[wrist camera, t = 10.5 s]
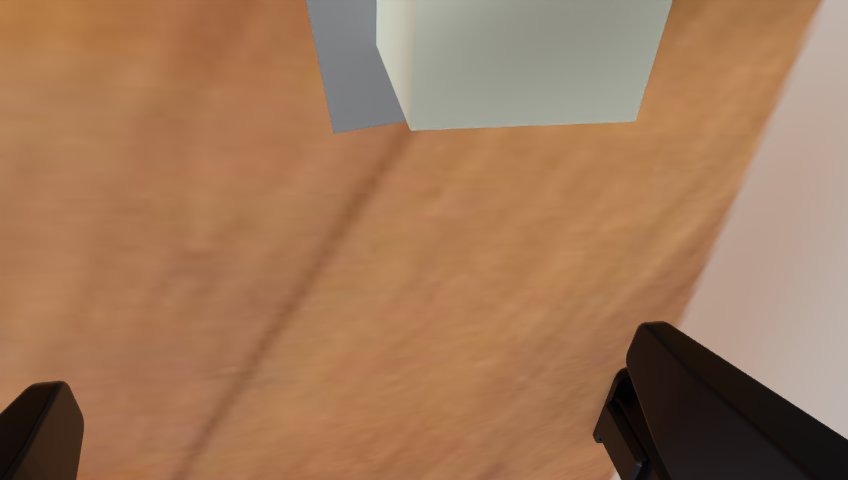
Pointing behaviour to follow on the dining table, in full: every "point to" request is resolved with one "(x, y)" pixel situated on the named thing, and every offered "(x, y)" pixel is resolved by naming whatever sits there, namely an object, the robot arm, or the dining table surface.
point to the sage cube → (518, 60)
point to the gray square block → (352, 65)
